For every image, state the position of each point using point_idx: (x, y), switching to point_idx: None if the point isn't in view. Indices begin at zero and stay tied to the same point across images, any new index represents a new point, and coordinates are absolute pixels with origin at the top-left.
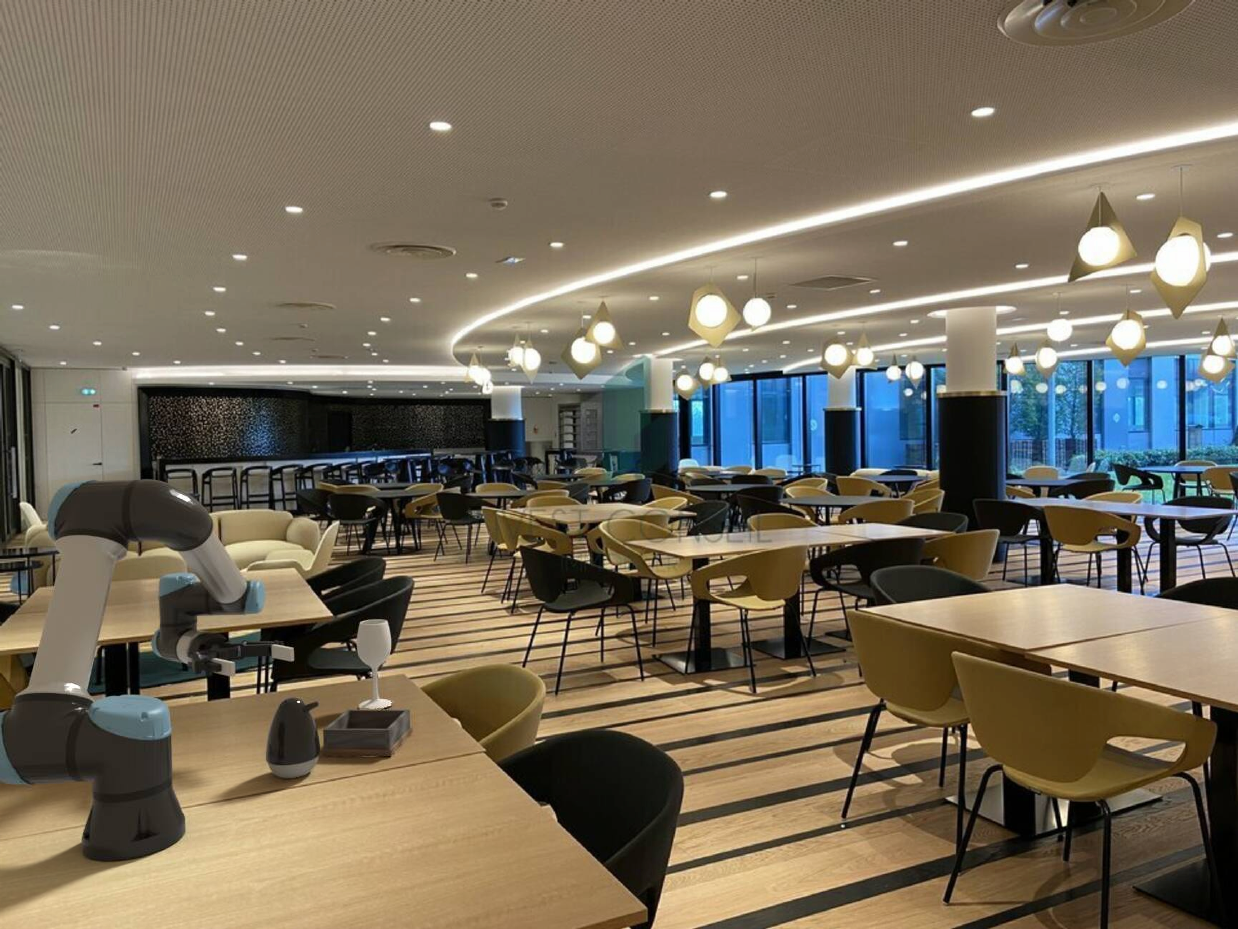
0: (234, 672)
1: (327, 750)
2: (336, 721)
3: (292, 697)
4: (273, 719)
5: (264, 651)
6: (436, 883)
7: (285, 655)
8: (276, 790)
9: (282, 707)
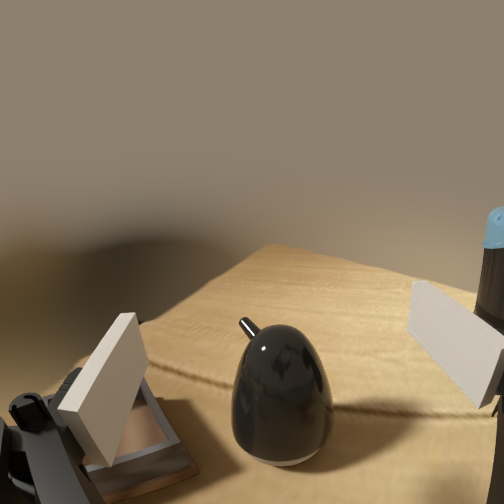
0: (410, 317)
1: (190, 457)
2: (124, 455)
3: (274, 329)
4: (321, 366)
5: (94, 494)
6: (314, 266)
7: (134, 365)
8: (336, 407)
9: (305, 336)
